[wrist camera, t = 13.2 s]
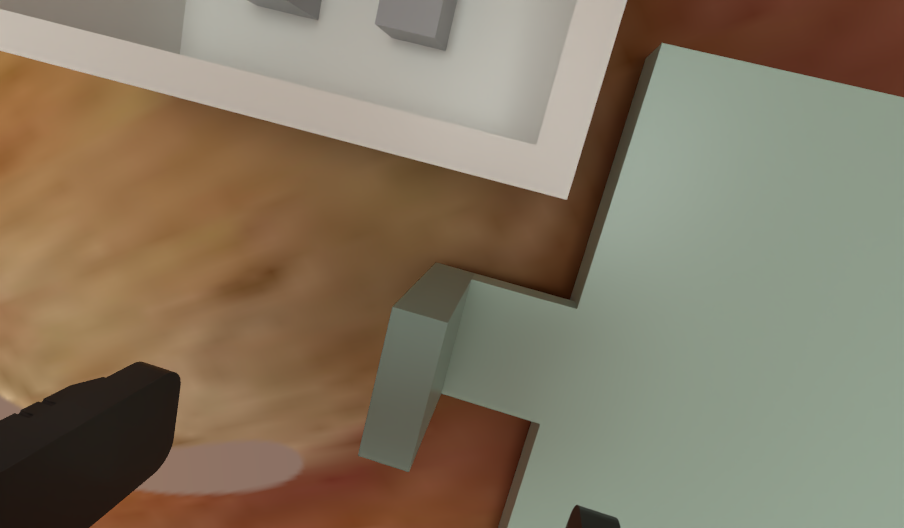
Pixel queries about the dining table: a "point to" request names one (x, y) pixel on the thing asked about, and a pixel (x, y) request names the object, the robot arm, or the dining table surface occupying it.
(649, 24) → the dining table surface
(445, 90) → the parts tub
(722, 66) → the lid
